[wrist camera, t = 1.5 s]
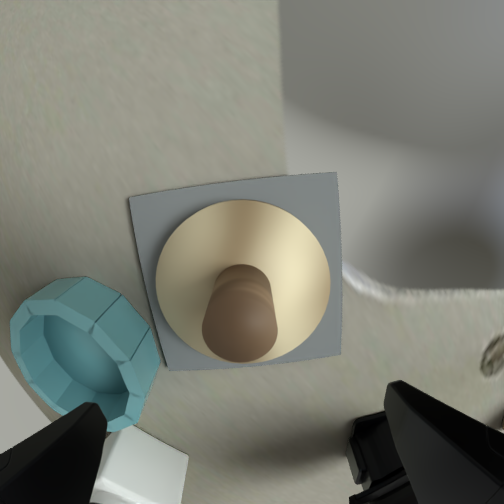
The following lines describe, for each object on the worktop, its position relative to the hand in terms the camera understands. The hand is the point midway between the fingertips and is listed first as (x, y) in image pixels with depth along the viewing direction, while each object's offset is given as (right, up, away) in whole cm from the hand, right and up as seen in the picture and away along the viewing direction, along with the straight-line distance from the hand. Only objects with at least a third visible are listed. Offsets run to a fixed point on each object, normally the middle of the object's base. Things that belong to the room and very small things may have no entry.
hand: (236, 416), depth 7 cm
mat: (0, +3, +10) cm, 11 cm away
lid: (0, +3, +10) cm, 10 cm away
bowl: (-12, -2, +12) cm, 17 cm away
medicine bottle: (-10, -15, +15) cm, 24 cm away
